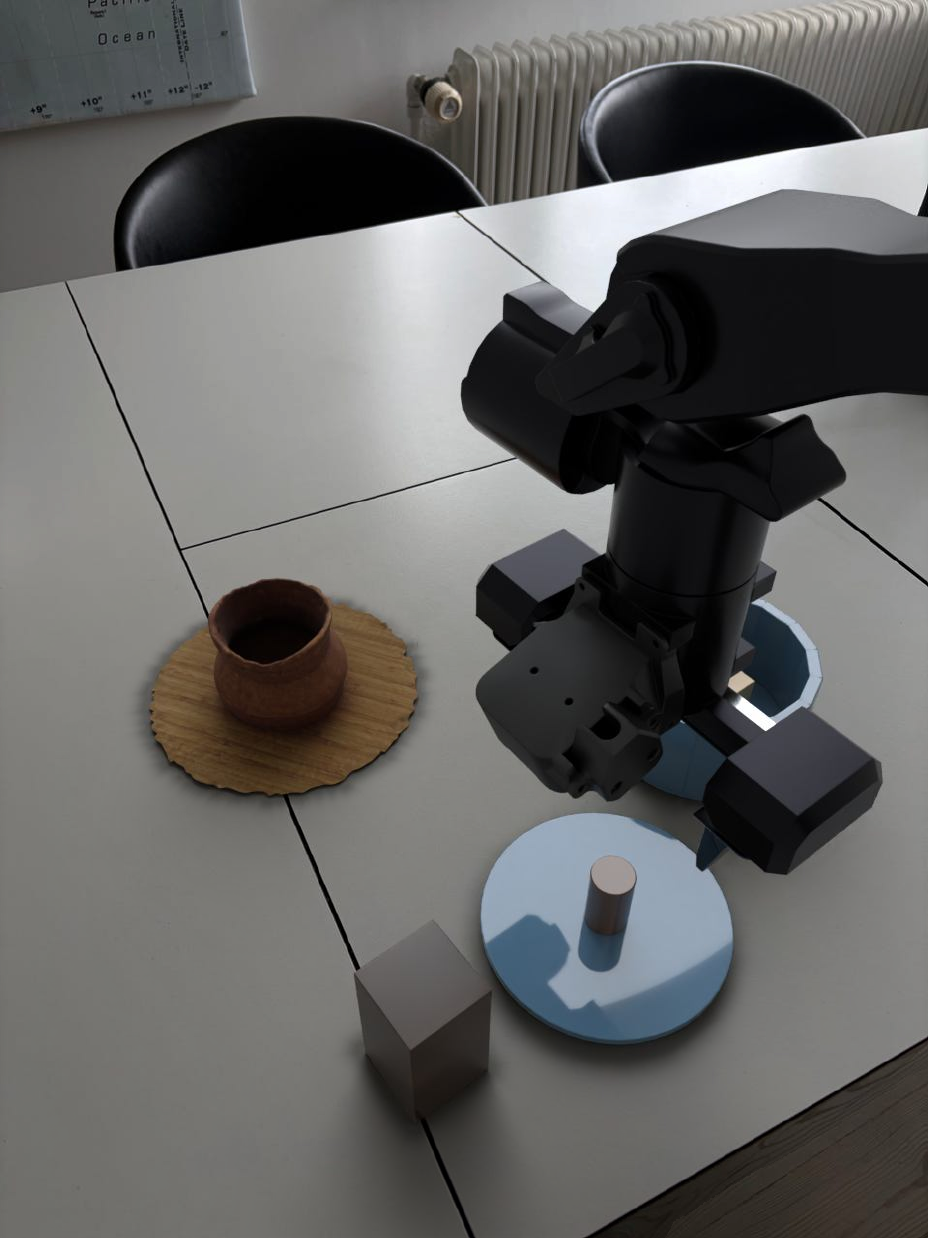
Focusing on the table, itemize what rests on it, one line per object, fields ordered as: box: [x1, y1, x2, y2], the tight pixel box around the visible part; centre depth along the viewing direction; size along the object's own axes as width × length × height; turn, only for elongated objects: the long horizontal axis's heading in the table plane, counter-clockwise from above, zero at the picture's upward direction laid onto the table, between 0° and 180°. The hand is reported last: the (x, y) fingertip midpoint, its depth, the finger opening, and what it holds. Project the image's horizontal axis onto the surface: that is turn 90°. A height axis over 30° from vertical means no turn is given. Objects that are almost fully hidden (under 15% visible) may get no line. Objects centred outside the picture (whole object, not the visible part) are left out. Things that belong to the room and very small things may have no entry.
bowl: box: [641, 598, 824, 802], centre depth 64 cm, size 13×13×6 cm
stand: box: [353, 919, 493, 1125], centre depth 47 cm, size 4×4×8 cm
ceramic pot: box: [148, 577, 419, 797], centre depth 65 cm, size 18×18×7 cm
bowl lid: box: [479, 812, 734, 1045], centre depth 53 cm, size 14×14×5 cm
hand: (635, 799), depth 49 cm, fingers open, 9 cm apart
